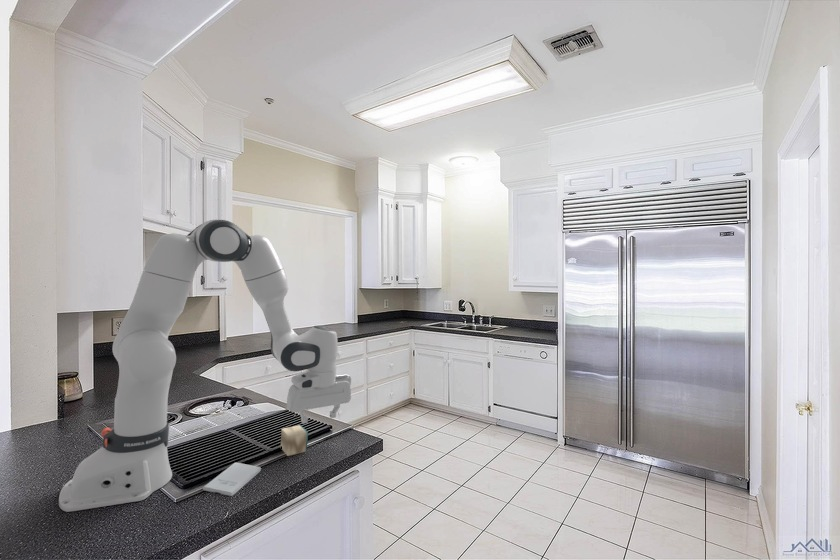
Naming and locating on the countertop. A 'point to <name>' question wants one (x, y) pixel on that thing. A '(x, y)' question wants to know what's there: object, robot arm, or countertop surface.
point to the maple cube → (294, 440)
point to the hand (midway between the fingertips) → (318, 419)
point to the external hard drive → (232, 479)
